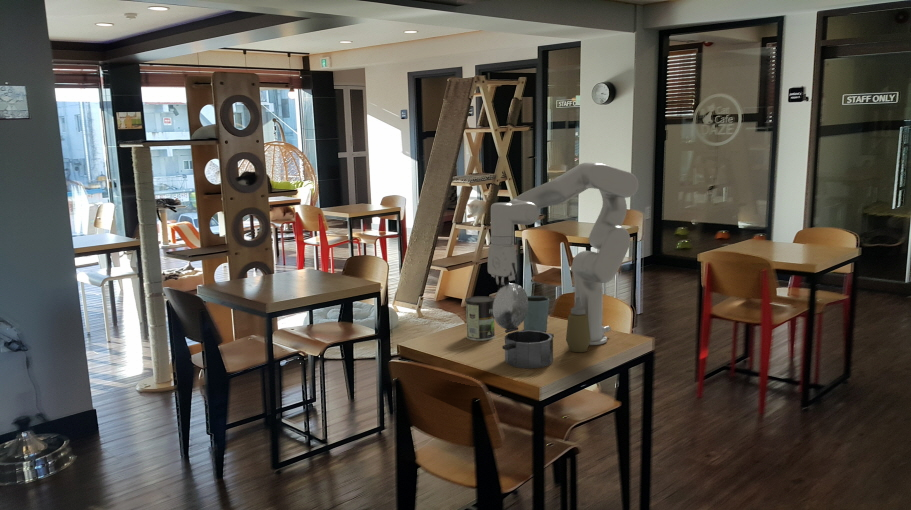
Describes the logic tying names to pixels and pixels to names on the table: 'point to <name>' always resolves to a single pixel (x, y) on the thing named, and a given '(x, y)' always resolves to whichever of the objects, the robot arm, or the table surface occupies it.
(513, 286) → the lid
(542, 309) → the blue-green cup
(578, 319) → the squeeze bottle
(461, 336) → the table surface
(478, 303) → the coffee can
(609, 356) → the table surface
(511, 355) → the pot
